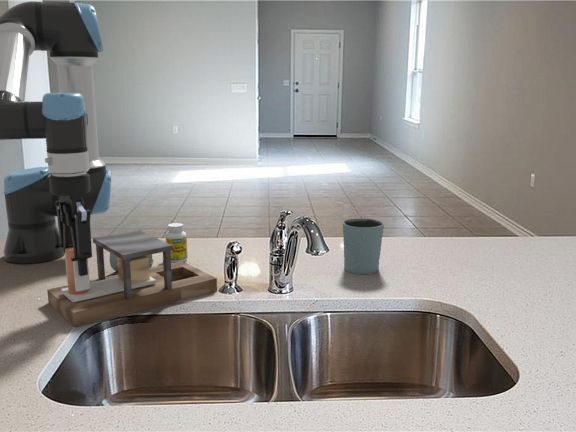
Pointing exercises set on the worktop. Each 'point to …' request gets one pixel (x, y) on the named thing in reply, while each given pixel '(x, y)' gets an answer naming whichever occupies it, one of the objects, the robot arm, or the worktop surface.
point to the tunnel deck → (169, 281)
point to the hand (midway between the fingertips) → (78, 286)
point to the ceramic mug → (115, 266)
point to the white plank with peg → (94, 283)
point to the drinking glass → (362, 245)
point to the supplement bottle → (177, 242)
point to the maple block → (136, 269)
